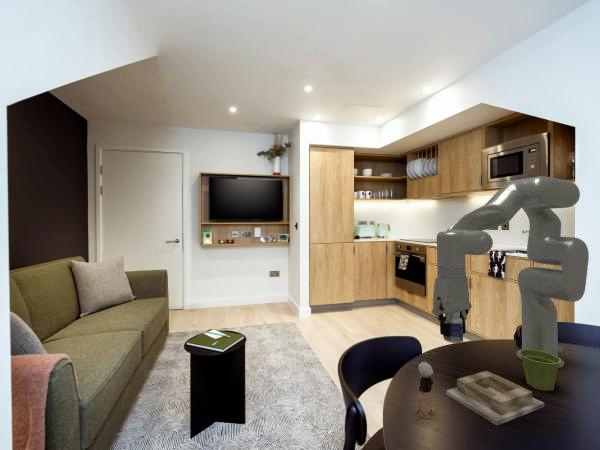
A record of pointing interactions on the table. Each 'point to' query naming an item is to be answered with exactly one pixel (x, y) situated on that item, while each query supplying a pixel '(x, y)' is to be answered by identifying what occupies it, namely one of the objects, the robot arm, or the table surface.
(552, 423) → the table surface
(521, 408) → the frame
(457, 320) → the pill bottle
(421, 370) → the grandmother figurine
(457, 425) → the table surface
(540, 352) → the plant pot
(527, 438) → the table surface
